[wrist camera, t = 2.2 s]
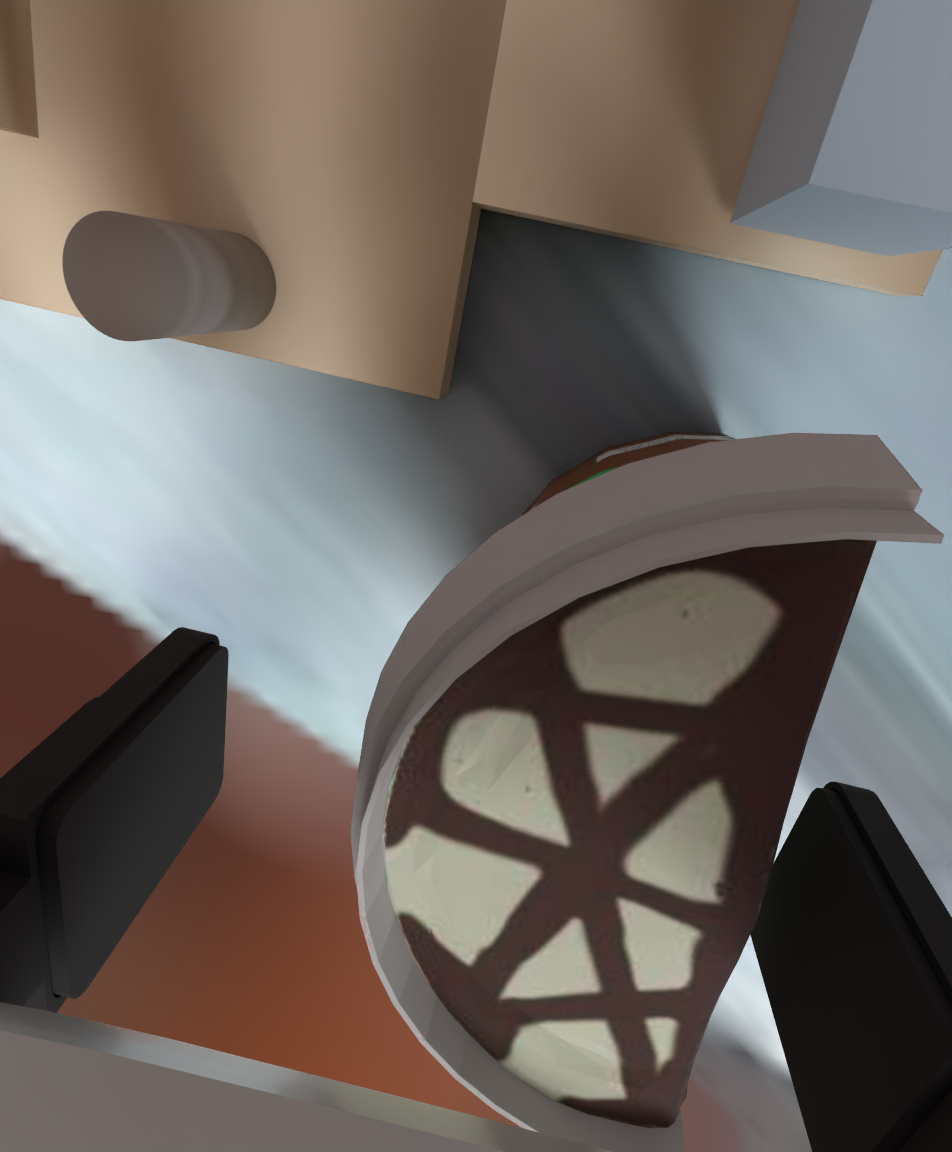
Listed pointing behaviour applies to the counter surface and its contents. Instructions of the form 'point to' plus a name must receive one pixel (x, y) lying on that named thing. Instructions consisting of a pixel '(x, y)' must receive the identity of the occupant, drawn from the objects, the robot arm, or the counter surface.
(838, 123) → the block
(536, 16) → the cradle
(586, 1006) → the food container
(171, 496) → the counter surface
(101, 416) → the counter surface
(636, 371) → the counter surface
